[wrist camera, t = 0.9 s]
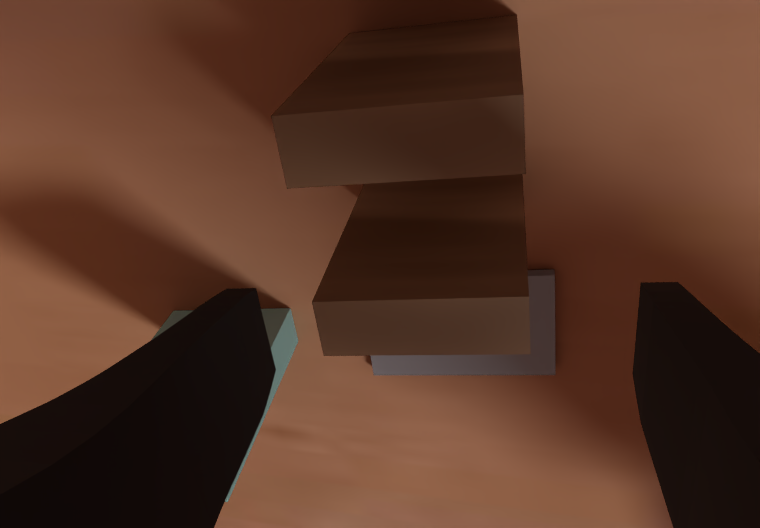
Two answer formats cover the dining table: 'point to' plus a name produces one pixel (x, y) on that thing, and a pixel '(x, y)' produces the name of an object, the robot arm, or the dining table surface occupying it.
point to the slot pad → (516, 364)
